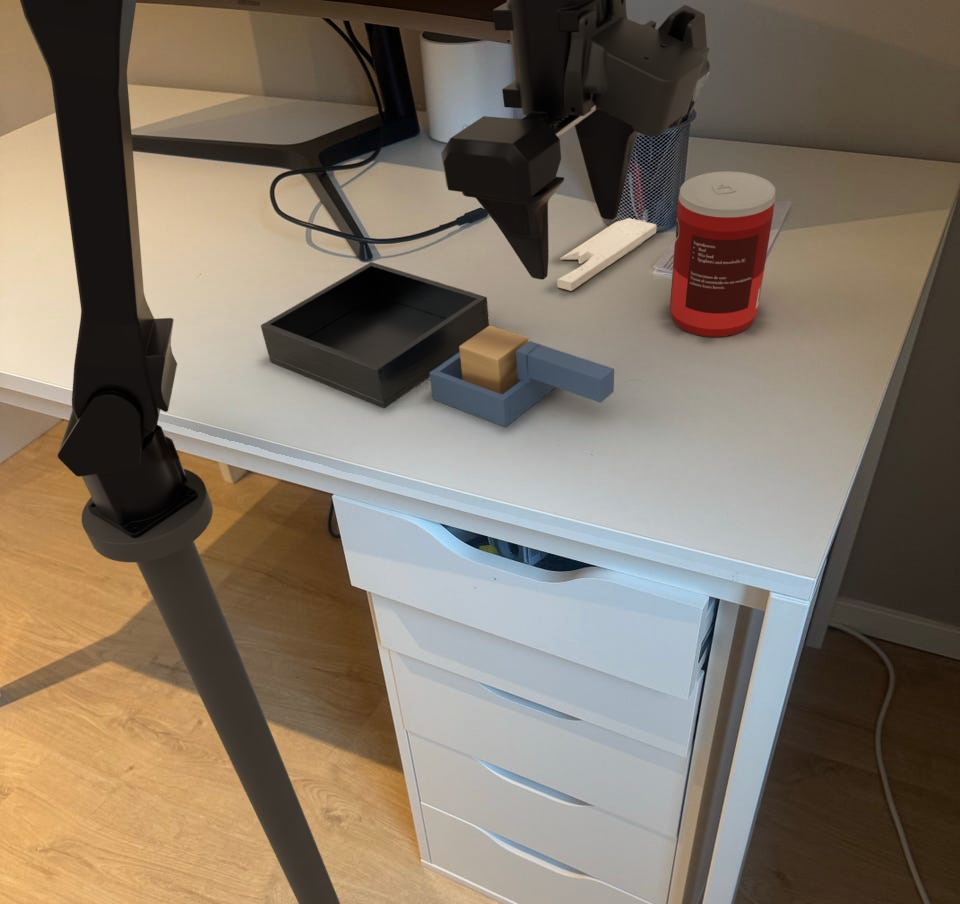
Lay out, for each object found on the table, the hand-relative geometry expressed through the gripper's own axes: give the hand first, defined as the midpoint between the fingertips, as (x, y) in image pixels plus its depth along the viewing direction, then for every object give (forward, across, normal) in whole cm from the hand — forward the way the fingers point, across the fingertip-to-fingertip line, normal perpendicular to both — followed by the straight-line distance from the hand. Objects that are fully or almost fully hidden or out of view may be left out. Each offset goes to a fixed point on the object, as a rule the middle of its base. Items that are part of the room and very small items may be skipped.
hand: (575, 247), depth 62 cm
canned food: (+15, +18, -2) cm, 24 cm away
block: (+12, -1, +8) cm, 15 cm away
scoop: (+13, -1, +5) cm, 14 cm away
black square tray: (+12, 0, +22) cm, 25 cm away
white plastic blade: (+14, +24, +14) cm, 31 cm away
